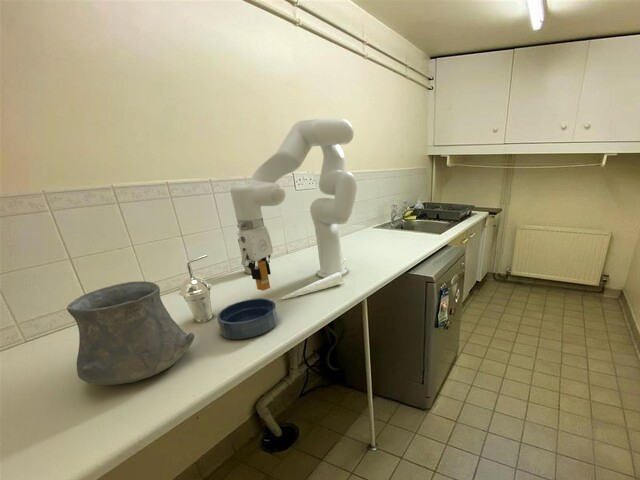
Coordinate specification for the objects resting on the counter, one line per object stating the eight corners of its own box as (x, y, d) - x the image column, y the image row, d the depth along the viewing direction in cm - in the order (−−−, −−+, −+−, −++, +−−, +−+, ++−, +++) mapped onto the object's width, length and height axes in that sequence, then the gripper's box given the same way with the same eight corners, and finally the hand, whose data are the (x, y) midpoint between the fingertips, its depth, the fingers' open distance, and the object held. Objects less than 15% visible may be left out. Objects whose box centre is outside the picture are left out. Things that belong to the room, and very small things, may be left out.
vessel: (184, 387, 69) (156, 307, 62) (60, 410, 63) (13, 325, 56) (212, 336, 88) (193, 270, 81) (119, 350, 83) (90, 281, 75)
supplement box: (271, 287, 109) (266, 260, 106) (262, 291, 107) (256, 263, 103) (265, 285, 111) (260, 259, 107) (256, 289, 108) (250, 262, 105)
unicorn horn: (277, 297, 112) (275, 284, 110) (339, 281, 125) (338, 270, 123) (281, 301, 108) (278, 289, 106) (344, 285, 121) (343, 273, 119)
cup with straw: (194, 313, 101) (176, 255, 94) (224, 310, 103) (209, 252, 96) (183, 327, 93) (163, 264, 86) (216, 322, 95) (199, 261, 88)
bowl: (247, 311, 102) (244, 296, 100) (288, 316, 98) (286, 301, 96) (208, 337, 88) (203, 320, 86) (254, 344, 84) (250, 326, 82)
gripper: (242, 230, 92) (254, 287, 99) (277, 219, 107) (286, 269, 114) (221, 229, 94) (234, 285, 100) (258, 218, 109) (268, 267, 116)
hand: (261, 276), depth 107 cm, fingers closed on supplement box, 4 cm apart
